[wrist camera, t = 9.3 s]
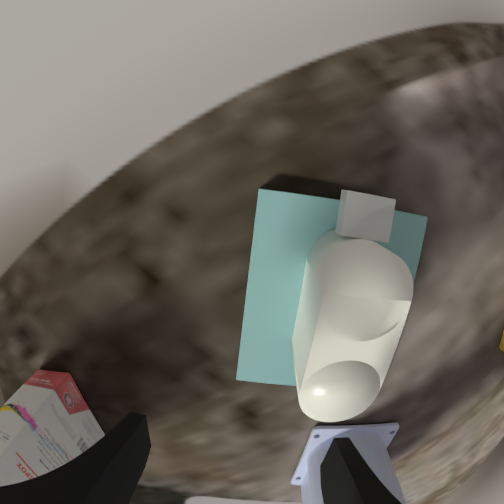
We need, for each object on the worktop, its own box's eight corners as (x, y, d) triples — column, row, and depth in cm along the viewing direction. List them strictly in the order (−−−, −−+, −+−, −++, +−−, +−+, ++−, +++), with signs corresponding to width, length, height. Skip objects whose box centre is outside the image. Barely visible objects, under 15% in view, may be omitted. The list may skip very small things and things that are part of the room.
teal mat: (373, 377, 19) (378, 387, 18) (237, 369, 19) (236, 379, 18) (418, 214, 16) (427, 217, 15) (259, 188, 16) (258, 189, 15)
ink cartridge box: (37, 367, 21) (-51, 459, 7) (71, 371, 21) (-22, 484, 6) (73, 430, 23) (14, 523, 9) (108, 437, 22) (52, 546, 8)
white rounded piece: (346, 369, 18) (365, 421, 13) (286, 365, 18) (291, 421, 13) (386, 198, 15) (432, 207, 10) (317, 185, 15) (341, 188, 10)
